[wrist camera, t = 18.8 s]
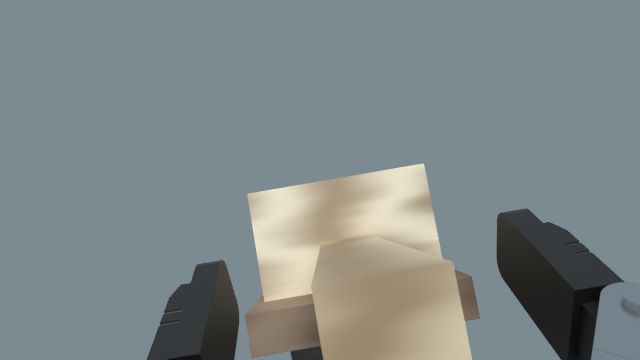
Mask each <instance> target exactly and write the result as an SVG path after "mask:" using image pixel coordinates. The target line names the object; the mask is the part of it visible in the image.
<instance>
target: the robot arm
mask: <svg viewBox="0 0 640 360" xmlns="http://www.w3.org/2000/svg"><path fill="white" fill-rule="evenodd" d="M497 264H498V268H499V271H500V274H501V276H502V278H503V279H504V281H505V282H506V284H507V285H508V286H509V288H510V289H511V291H512V292H513V293H514V295H515V296H516V298H517V299H518V300H519V302H520V303H521V304H522V306H523V307H524V309H525V310H526V311H527V313H528V314H529V316H530V317H531V318H532V320H533V321H534V323H535V324H536V325H537V327H538V328H539V330H540V331H541V332H542V334H543V335H544V336H545V338H546V339H547V341H548V342H549V343H550V345H551V346H552V347H553V349H554V350H555V352H556V353H557V354H558V356H559V357H560V359H561V360H640V284H637V283H628V282H624V281H623V280H622V279H621V278H620V277H618V276H617V275H616V274H615V273H614V272H613V271H612V270H610V268H608V267H607V266H606V265H605V264H604V263H603V262H602V261H601V260H600V259H598V258H597V257H596V256H595V255H594V254H593V253H590V252H589V250H588V249H587V248H586V247H585V246H584V245H583V244H580V243H579V241H578V240H577V239H576V238H575V237H574V236H573V235H572V234H571V233H570V232H568V231H567V230H565V229H563V228H561V227H559V226H556V225H555V224H552V223H550V222H547V223H542V222H541V221H540V220H539V219H538V218H537V217H536V216H535V215H534V214H533V213H532V212H531V211H530V210H528V209H520V210H514V211H509V212H503V213H500V214H499V215H498V218H497ZM164 313H165V314H164V315H163V317H162V319H161V322H160V326H159V328H158V331H157V333H156V336H155V339H154V341H153V344H152V347H151V350H150V352H149V355H148V358H147V360H234V356H235V349H236V342H237V334H238V327H239V310H238V304H237V300H236V297H235V293H234V290H233V287H232V283H231V280H230V277H229V273H228V270H227V267H226V264H225V262H224V261H223V260H220V261H215V262H209V263H203V264H198V265H197V266H196V268H195V271H194V274H193V277H192V281H191V283H189V284H183V285H180V287H179V288H178V289H177V290H176V291H175V292H174V293H173V294H172V295H171V297H170V298H169V300H168V303H167V306H166V308H165V311H164Z"/></svg>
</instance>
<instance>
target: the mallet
mask: <svg viewBox="0 0 640 360" xmlns="http://www.w3.org/2000/svg"><path fill="white" fill-rule="evenodd" d="M248 200H249V207H250V213H251V219H252V226H253V233H254V239H255V245H256V252H257V258H258V264H259V271H260V277H261V284H262V290H263V296H264V302H267V301H273V300H279V299H285V298H290V297H296V296H302V295H308V294H312V295H313V301H314V307H315V313H316V319H317V325H318V331H319V337H320V343H321V349H322V355H323V360H472V356H471V351H470V346H469V341H468V336H467V331H466V326H465V320H464V315H463V310H462V305H461V300H460V295H459V290H458V285H457V280H456V275H455V270H454V265H453V262H452V261H448V260H445V259H443V258H442V255H441V249H440V245H439V239H438V234H437V229H436V224H435V219H434V213H433V209H432V203H431V198H430V193H429V188H428V183H427V178H426V172H425V167H424V164H419V165H412V166H407V167H401V168H395V169H390V170H384V171H378V172H372V173H366V174H360V175H354V176H349V177H344V178H338V179H331V180H325V181H320V182H314V183H309V184H302V185H297V186H291V187H285V188H279V189H273V190H267V191H262V192H256V193H250V194H248Z"/></svg>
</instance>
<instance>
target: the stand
mask: <svg viewBox="0 0 640 360" xmlns="http://www.w3.org/2000/svg"><path fill="white" fill-rule="evenodd" d="M455 275H456V280H457V285H458V290H459V295H460V300H461V305H462V310H463V315H464V320H465V321H468V320H474V319H480V316H479V311H478V306H477V301H476V296H475V292H474V286H473V282H472V277H471V276H469V275H467V274H464V273H462V272H459V271H456V270H455ZM245 317H246V323H247V330H248V337H249V344H250V350H251V357H252V358H254V357H260V356H265V355H271V354H277V353H283V352H289V351H291V356H292V360H323V355H322V349H321V343H320V337H319V331H318V325H317V319H316V313H315V307H314V301H313V295H312V294H308V295H302V296H296V297H290V298H285V299H279V300H273V301H267V302H264V296H263V295H262V296H261V298H260V299H259V300H258V301H257V302H256V303H255V305H254V306H253V307H252V308H251V309H250V310H249V312H248V313H247V314H246V315H245Z"/></svg>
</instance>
